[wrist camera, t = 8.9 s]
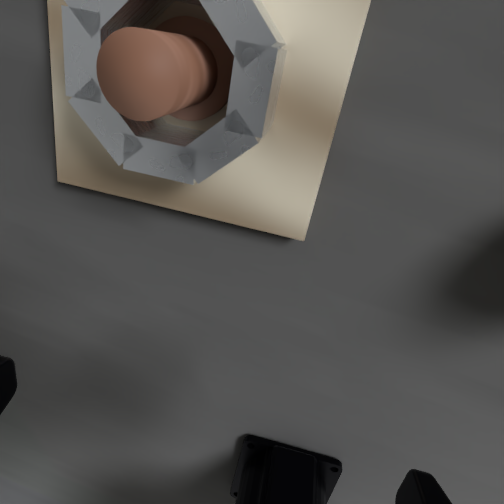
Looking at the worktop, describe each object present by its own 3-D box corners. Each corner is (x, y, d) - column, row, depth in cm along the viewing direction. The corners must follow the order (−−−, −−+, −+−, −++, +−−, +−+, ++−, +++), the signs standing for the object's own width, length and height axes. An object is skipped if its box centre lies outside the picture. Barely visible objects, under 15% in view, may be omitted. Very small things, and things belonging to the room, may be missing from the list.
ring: (262, 175, 17) (250, 198, 14) (108, 141, 17) (68, 156, 14) (300, -20, 13) (294, -39, 11) (108, -56, 14) (56, -82, 11)
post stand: (305, 232, 19) (295, 302, 13) (69, 175, 19) (-27, 220, 14) (393, -89, 13) (439, -189, 8) (56, -149, 14) (-114, -279, 8)
